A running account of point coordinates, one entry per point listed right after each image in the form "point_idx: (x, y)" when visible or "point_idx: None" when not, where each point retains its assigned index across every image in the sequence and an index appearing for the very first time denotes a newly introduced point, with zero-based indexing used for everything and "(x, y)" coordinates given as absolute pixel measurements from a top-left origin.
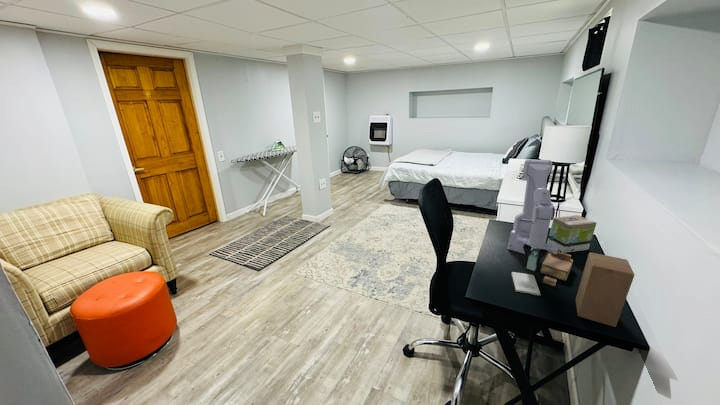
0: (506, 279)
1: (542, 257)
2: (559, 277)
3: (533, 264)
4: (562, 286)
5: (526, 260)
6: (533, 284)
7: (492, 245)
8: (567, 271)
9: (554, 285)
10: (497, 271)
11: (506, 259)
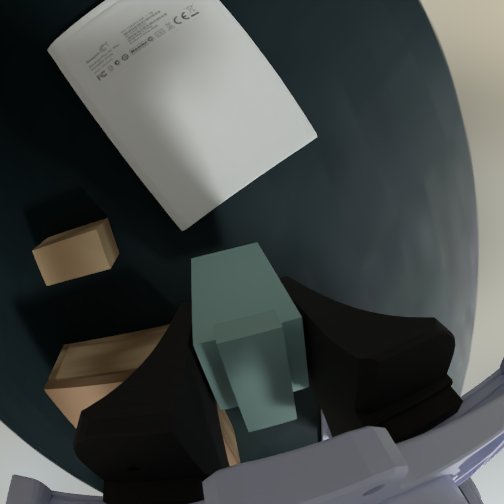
0: (296, 35)
1: (127, 379)
2: (87, 346)
3: (212, 282)
4: (33, 278)
5: (293, 280)
6: (117, 100)
7: (460, 335)
8: (48, 391)
9: (46, 240)
10: (382, 92)
11: (396, 283)
